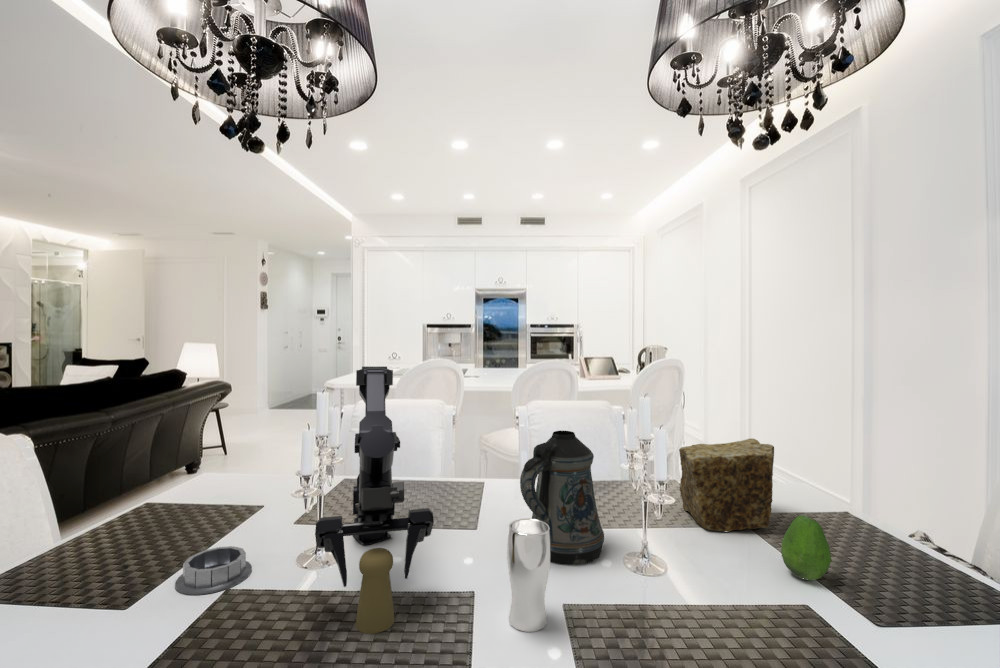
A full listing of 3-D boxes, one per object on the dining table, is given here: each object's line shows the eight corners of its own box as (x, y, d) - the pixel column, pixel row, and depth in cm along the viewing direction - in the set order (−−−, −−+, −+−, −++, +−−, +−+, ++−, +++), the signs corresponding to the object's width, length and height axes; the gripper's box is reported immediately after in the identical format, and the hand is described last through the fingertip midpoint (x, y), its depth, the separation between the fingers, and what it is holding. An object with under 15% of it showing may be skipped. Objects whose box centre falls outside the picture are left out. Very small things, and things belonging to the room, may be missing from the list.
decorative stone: (688, 447, 109) (672, 431, 129) (689, 533, 109) (672, 504, 129) (786, 450, 106) (754, 434, 125) (788, 539, 105) (755, 509, 125)
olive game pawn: (384, 636, 69) (385, 562, 69) (347, 630, 70) (349, 558, 70) (400, 613, 75) (402, 545, 75) (366, 608, 76) (368, 541, 76)
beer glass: (504, 608, 77) (505, 518, 77) (545, 607, 77) (546, 517, 78) (508, 635, 70) (510, 535, 70) (553, 633, 70) (555, 535, 71)
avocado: (818, 593, 83) (818, 526, 83) (773, 574, 90) (773, 512, 90) (838, 581, 87) (838, 518, 88) (794, 564, 94) (794, 505, 94)
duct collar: (243, 555, 94) (244, 538, 94) (258, 579, 85) (259, 560, 85) (171, 574, 86) (172, 555, 86) (179, 603, 77) (180, 582, 77)
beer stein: (611, 540, 104) (612, 429, 104) (590, 580, 86) (592, 446, 86) (541, 526, 111) (543, 422, 111) (509, 561, 93) (511, 437, 93)
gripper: (317, 468, 74) (308, 570, 64) (433, 461, 80) (442, 554, 69) (320, 501, 82) (313, 597, 71) (426, 492, 87) (433, 580, 76)
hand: (376, 581), depth 72 cm, fingers open, 9 cm apart
